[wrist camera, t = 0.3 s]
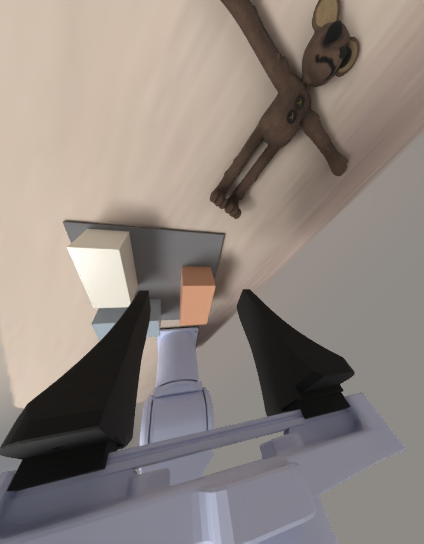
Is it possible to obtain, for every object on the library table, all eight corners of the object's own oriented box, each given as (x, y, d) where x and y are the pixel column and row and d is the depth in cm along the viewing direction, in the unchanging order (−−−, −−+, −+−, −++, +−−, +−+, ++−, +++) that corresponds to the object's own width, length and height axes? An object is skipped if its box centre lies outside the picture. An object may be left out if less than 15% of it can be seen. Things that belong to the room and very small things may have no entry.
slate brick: (160, 299, 25) (158, 320, 22) (161, 314, 27) (159, 336, 24) (102, 300, 23) (91, 324, 20) (109, 317, 25) (99, 340, 22)
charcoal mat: (205, 316, 30) (205, 317, 30) (105, 321, 26) (104, 323, 26) (223, 234, 20) (224, 235, 20) (64, 221, 16) (62, 222, 16)
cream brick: (137, 284, 22) (131, 307, 19) (105, 284, 21) (93, 308, 18) (129, 231, 17) (118, 249, 14) (87, 228, 16) (67, 247, 13)
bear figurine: (130, 147, 11) (307, -429, 4) (142, 142, 15) (255, -190, 7) (278, 251, 20) (422, 125, 13) (266, 234, 23) (375, 125, 16)
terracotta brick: (203, 304, 27) (206, 324, 24) (179, 304, 26) (180, 325, 23) (210, 266, 22) (215, 285, 19) (181, 266, 21) (182, 285, 18)
